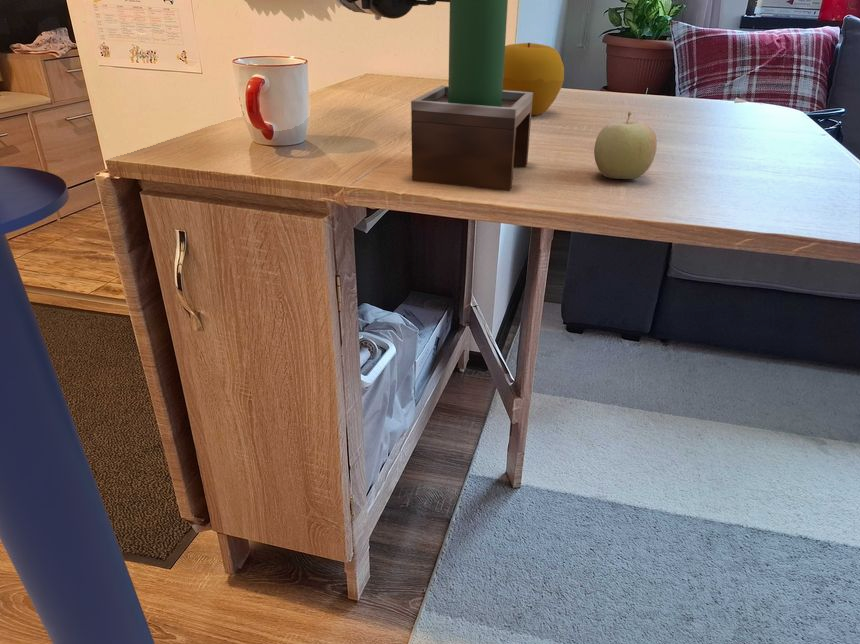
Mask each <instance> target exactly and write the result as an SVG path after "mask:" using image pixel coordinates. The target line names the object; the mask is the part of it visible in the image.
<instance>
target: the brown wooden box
mask: <svg viewBox="0 0 860 644" xmlns="http://www.w3.org/2000/svg"><path fill="white" fill-rule="evenodd" d="M532 100H533V92H520V91H507V90H503V92H502V106H501V107H496V106H484V105H471V104H459V103H448V85H439V86H438V87H435V88H433V89H432V90H430V91H428V92H426V93H424V94H421V95H420V96H418V97H416V98H414V99H412V100H411V101H410V111H411V112H410V116H411V117H410V121H411V123H410V125H411V127H410V128H411V129H410V130H411V133H410V134H411V181H416V182H425V183H436V184H443V185H453V186H463V187H472V188H481V189H492V190H500V191H510V192H511V190H512V188H513V181H514V180H513V178H514V167H520V168H526V167H527V166H528V162H529V161H528V160H529V150H530V149H529V147H530V137H531V125H532V124H531V123H532V116H531V113H532Z"/></svg>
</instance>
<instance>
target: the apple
mask: <svg viewBox="0 0 860 644" xmlns="http://www.w3.org/2000/svg"><path fill="white" fill-rule="evenodd" d="M564 80H565V66H564V63H563V61H562V57H561V54H560V53H559V52H558V51H557V49H556V48H555V47H551V46H549V45H546V44H540V43H536V42H535V43H534V42H522V43H511V44H506V45H505V57H504V75H503V90H507V91H520V92H533V100H532V113H531V117H532V116H538V115H539V116H540V115H542V114H544V113H546V112H547V111H548V110H549V108H550V107H551V106H552V104H554V102H555V100H556V99H557V97H558V95H559V93H560V91H561V89H562V88H563V84H564Z"/></svg>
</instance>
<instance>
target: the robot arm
mask: <svg viewBox="0 0 860 644" xmlns="http://www.w3.org/2000/svg"><path fill="white" fill-rule="evenodd" d="M336 1H337V3H338V4H340V5H341V6H342V7H344V8H345V9H348V10H349V11H352V12H354V13H362V14H367V15H374V19H375V20H376V21H380V20H381V19H382V18H386V19H390V20H391V19H392V20H396V19H400V18H403V17H404V16H407V14H408V13H410V11H411V10H412V9H413V7H419V5H420V6H435V5H436V3H437V2H438V3H439V2H440V3H441V2H442V3H450V0H336Z"/></svg>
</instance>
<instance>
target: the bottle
mask: <svg viewBox="0 0 860 644" xmlns="http://www.w3.org/2000/svg"><path fill="white" fill-rule="evenodd" d="M508 2H509V0H450V2H449V26H448V27H449V28H448V29H449V30H448V31H449V32H448V85H447V86H448V103H459V104H471V105H484V106H496V107H501V106H502V92H503V75H504V57H505V46H506V41H507V39H506V38H507V20H508V5H509V4H508Z"/></svg>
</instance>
